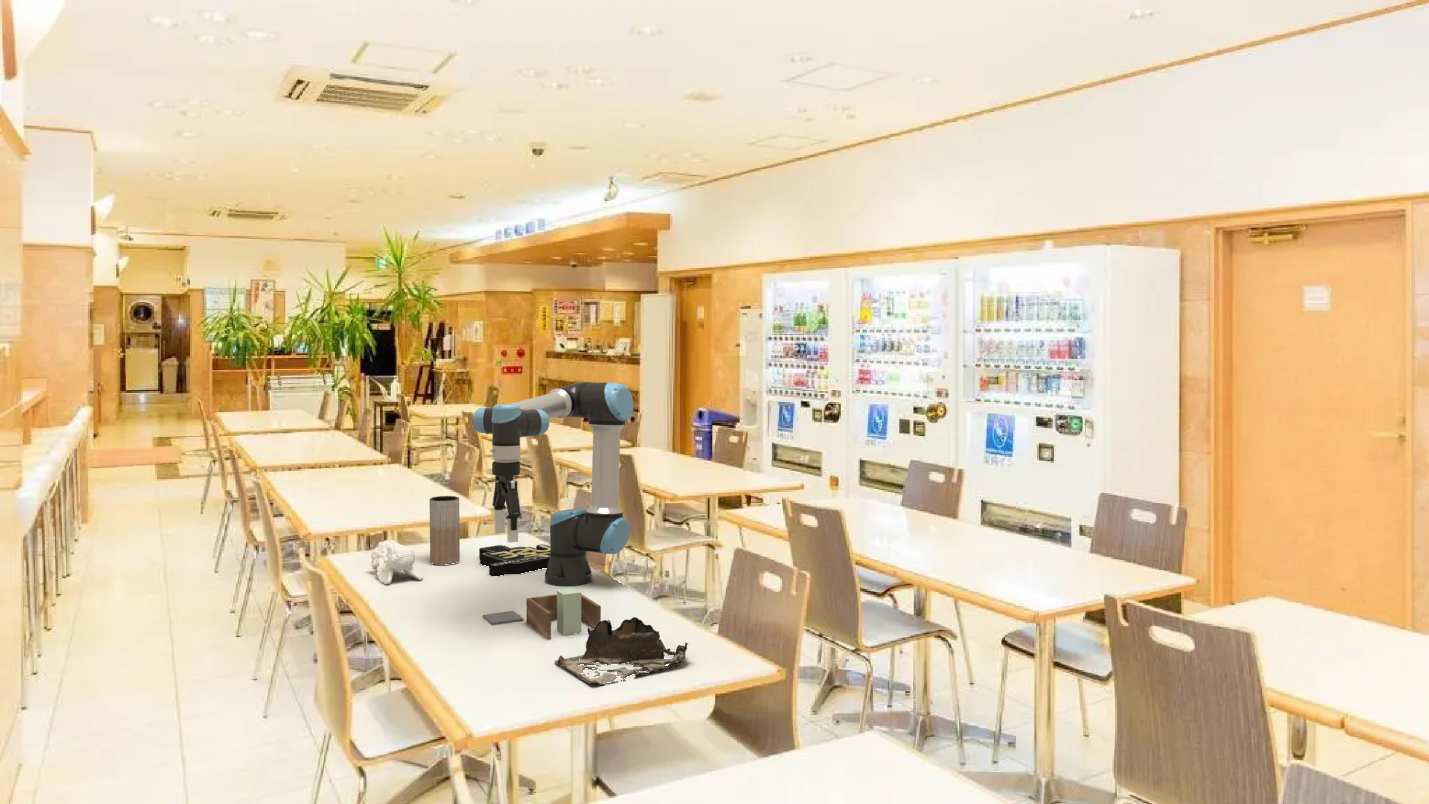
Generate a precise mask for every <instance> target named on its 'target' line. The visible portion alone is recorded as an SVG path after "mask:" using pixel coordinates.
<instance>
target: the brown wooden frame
mask: <svg viewBox="0 0 1429 804" xmlns="http://www.w3.org/2000/svg"><path fill="white" fill-rule="evenodd" d="M525 600H526V601H525V602H526V603H525V604H526V605H525V606H526V607H525V608H526V609H525V613H526V624H527V625H528V626H529V627H530V628H532V629H533V630H535V631H536V632H537V633H538V632H539V633H538V634H539V635H541V636H542V635H543V636H544V637H543V636H542V637H543V638H545V639H546V638H547V639H549V640H552V622H553V621H557V593H556V594H550V595H549V594H547V595H541V596H534V597H533V596H532V597H527V598H526V599H525ZM601 612H602V606H601V605H599V604H598V603H596V602H595V601H593V600H592V599H590V598H589V597H587V596H585V595H584V594H582V593H581V623H583V624H584V623H585V625H586V626H588V627H589V626H590V627H591V628H590V627H589V628H590V629H591V630H593V629H595V627H596V626H597V624H598V623H599V622H601V621H602V613H601ZM552 620H553V621H552ZM547 639H546V640H547Z"/></svg>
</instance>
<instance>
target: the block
mask: <svg viewBox="0 0 1429 804" xmlns="http://www.w3.org/2000/svg"><path fill="white" fill-rule="evenodd" d="M556 594H557V620H556V631H557V632H558V633H559V632H560V633H559V634H561V635H562V636H563V635H564V636H569V635H570V634H571V635H575V634H574V633H578V634H581V633H582V621H581V594H582V592H581V591H579V590H578V589H577V588H567V589H566V588H565V589H558V590H557V589H556ZM580 632H581V633H580Z"/></svg>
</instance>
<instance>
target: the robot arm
mask: <svg viewBox="0 0 1429 804" xmlns="http://www.w3.org/2000/svg"><path fill="white" fill-rule="evenodd" d="M633 412H634V400H633V396H632V393H631V391H630V390H629V388H628V387H627V385H624V384H622V383H616V382H597V381H596V382H592V381H591V382H590V381H582V382H576V383H572V384H567V385H563V386H561V387H556V388H554V389H552V390H550V391H549V393H547V394H542V395H538V396H535V397H532V398H527V399H522V400H519V401H515V402H512V403H502V404H501V403H499V404H494V405H493V407H488V406H487V407H479V408H478V409H476V410H475V411H474V414H473V415H472V427H473V428H474V430H475V431H476V432H478V433H481V434H485V435H492V442H491V444H492V448H491V449H489V450H490V453H492V454H491V455H492V456H491V457H492V460H493V461H492V463H491V474H492V476H495V477H494V478H495V479H494V480H495V481H494V483H495V484H494V491H493V499H492V504H491V505H492V507H493V509H494V534H505V533H506V525H507V533H506V534H507V543H518V542H519V518H520V517H522V513H521V506H520V499H519V491H518V490H519V489H518V480H514V476H519V475H520V474H521V462H520V459H521V438H525V437H537V436H541V435H544V434H545V433H547V431H548V430H549V427H550V419H553V418H557V419H565V418H580V419H588V427H590V428H591V429H592V460H591V461H592V462H591V463H592V465H591V495H590V496H591V498H590V499H591V501H590V506H589V507H588V508H587V509H586V508H582V507H581V508H570V509H562V510H558V511H554V512H552V514H551V516H550V521H549V539H550V541H549V543H550V545H549V546H550V560H549V563H548V566H547V569H545V570H546V571H545V572H544V573H545V574H544V582H545V583H547V584H549V585H553V586H561V585H571V586H580V585H584V584H588V583H590V582H592V580H593V573H592V572H593V571H592V569H591V566H590V563H589V560H588V557H587V556H588V555H587V552H591V553H598V554H599V553H600V554H604V555H616V554H619V553H620V552H622V551H623V549H624V548H625V546H626V545H627V543H628V541H629V538H630V534H631V527H630V523H629V521H628V519H626V518H625V517H623V516H624V515H623V514H624V511H623V509H621V507H620V505H619V494H620V493H619V492H620V491H619V490H620V489H619V487H620V460H621V459H620V456H621V455H620V453H621V431H622V429H623V428H625V426H626V421H628V420H629V419H631V417H632V413H633ZM505 504H506V505H505ZM506 509H507V514H508V515H506V511H505V510H506ZM506 519H507V524H506Z"/></svg>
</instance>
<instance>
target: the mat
mask: <svg viewBox="0 0 1429 804" xmlns="http://www.w3.org/2000/svg"><path fill="white" fill-rule="evenodd" d="M482 618H483V619H484V618H485V619H484V620H485V621H486V622H488V623H489V624H490V625H491V626H495V625H496V624H497V625H503V624H502V623H504V624H510V623H511V624H512V623H516V622H517V623H518V622H523V621H525V620H524V617H522V616H521V615H519V613H517V612H515V611H514V610H509V611H500V612H494V613H487V614H482ZM497 625H496V626H497Z"/></svg>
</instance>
